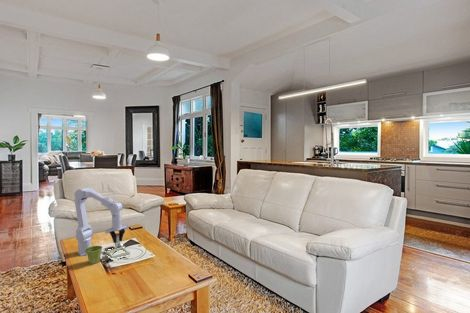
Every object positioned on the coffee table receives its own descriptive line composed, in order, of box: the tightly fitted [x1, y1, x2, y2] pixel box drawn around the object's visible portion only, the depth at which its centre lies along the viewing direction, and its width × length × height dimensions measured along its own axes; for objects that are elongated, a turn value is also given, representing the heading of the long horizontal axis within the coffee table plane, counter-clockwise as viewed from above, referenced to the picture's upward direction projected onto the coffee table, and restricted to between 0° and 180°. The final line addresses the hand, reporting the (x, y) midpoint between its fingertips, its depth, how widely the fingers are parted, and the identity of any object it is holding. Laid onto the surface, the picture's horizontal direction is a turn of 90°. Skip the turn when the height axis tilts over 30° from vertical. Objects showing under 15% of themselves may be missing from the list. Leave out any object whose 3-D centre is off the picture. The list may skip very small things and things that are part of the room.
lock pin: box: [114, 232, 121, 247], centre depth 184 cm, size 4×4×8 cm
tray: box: [106, 247, 131, 258], centre depth 184 cm, size 11×11×3 cm
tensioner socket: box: [103, 245, 117, 252], centre depth 191 cm, size 6×6×2 cm
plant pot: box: [85, 245, 103, 265], centre depth 175 cm, size 9×9×9 cm
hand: (117, 241), depth 184 cm, fingers closed on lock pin, 3 cm apart
